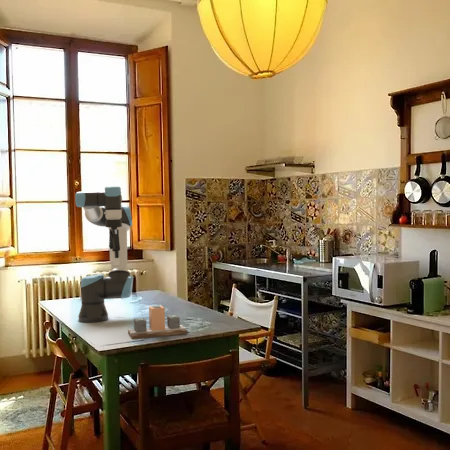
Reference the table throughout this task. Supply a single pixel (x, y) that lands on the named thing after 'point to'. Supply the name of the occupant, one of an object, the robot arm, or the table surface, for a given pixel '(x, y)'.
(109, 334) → the table surface
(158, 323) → the block
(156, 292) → the table surface
